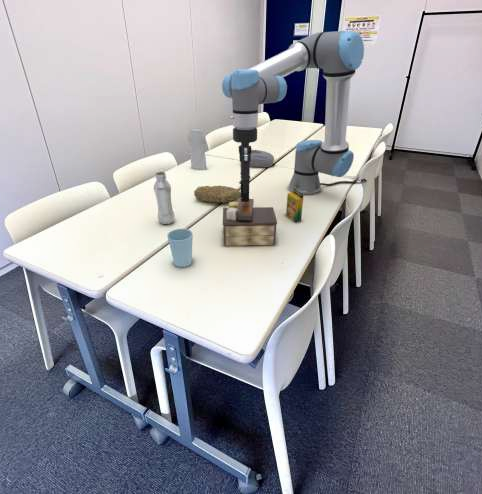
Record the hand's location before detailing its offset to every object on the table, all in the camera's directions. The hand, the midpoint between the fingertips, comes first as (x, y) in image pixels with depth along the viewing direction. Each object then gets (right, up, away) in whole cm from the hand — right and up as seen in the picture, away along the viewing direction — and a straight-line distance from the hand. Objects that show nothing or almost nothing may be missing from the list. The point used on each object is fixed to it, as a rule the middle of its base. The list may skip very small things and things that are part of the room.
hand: (244, 199), depth 110 cm
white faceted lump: (-4, -6, +1) cm, 8 cm away
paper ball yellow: (-4, -4, +6) cm, 8 cm away
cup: (-20, -22, -6) cm, 30 cm away
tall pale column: (-26, +29, +77) cm, 87 cm away
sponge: (-11, +5, +37) cm, 39 cm away
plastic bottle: (-31, -7, +18) cm, 36 cm away
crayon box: (+20, -5, +21) cm, 30 cm away
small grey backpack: (+9, +33, +83) cm, 90 cm away
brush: (0, -5, +3) cm, 6 cm away
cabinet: (+2, -13, +8) cm, 15 cm away
